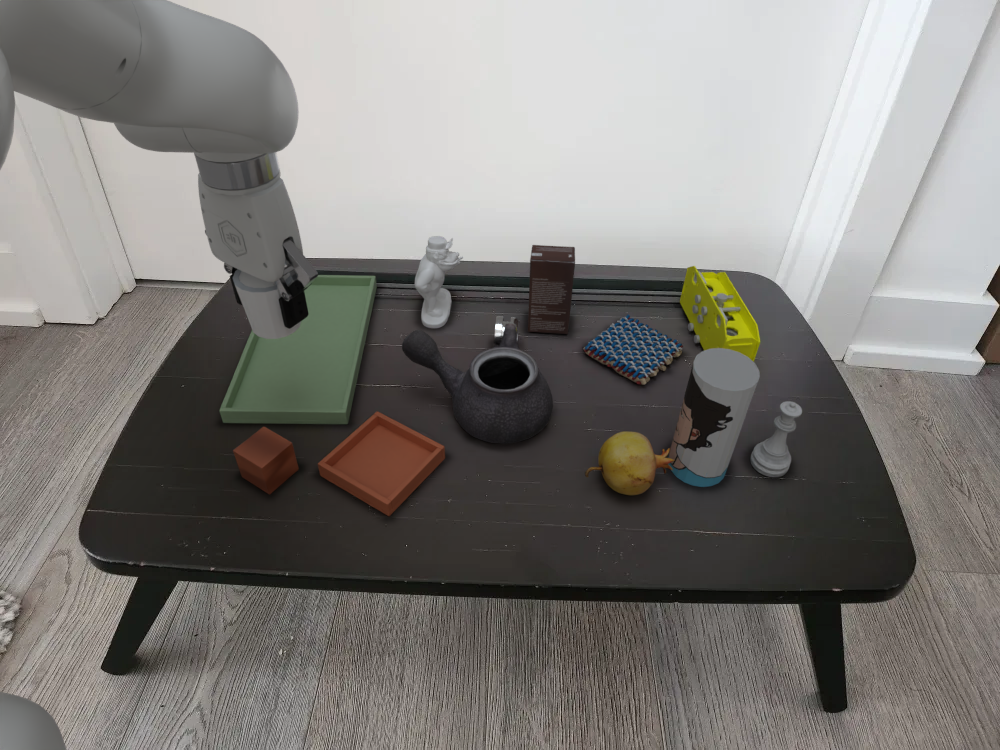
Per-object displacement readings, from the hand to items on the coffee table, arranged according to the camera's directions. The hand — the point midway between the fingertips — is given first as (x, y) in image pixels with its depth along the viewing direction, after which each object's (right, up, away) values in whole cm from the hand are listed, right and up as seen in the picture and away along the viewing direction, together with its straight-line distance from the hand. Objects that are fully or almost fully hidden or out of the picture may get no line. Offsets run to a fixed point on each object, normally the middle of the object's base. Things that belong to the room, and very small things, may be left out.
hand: (272, 309), depth 83 cm
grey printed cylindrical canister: (+49, -18, +2) cm, 52 cm away
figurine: (+17, +2, +24) cm, 29 cm away
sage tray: (0, -4, +17) cm, 17 cm away
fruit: (+40, -20, 0) cm, 45 cm away
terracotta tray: (+13, -18, +1) cm, 22 cm away
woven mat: (+44, -5, +17) cm, 48 cm away
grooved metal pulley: (+27, -4, +17) cm, 32 cm away
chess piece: (+58, -18, +3) cm, 61 cm away
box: (+33, 0, +22) cm, 39 cm away
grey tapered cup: (0, -2, +2) cm, 2 cm away
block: (0, -19, 0) cm, 19 cm away
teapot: (+23, -11, +9) cm, 27 cm away
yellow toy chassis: (+56, -3, +20) cm, 60 cm away
